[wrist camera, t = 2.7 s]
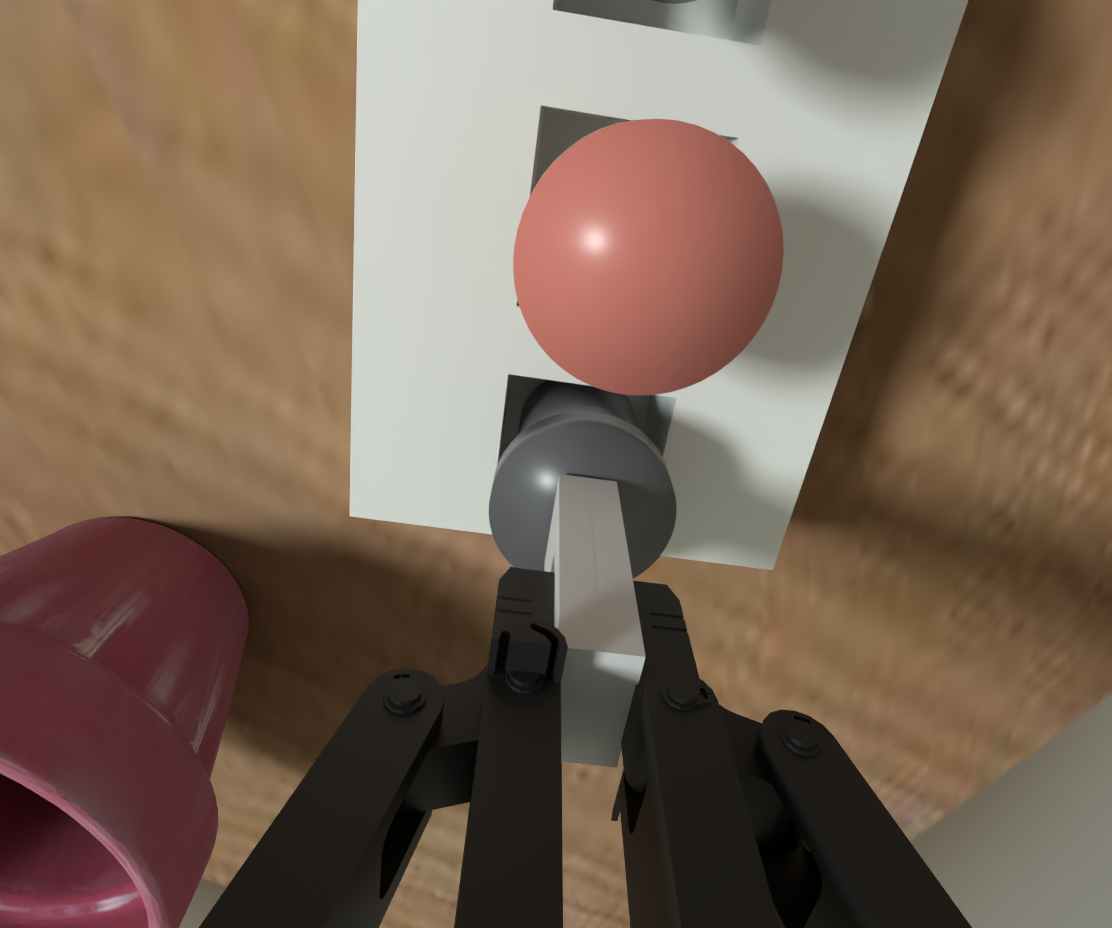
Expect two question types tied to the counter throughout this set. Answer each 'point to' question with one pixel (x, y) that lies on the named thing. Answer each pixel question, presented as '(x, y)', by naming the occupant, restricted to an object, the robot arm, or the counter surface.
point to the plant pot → (111, 722)
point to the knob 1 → (579, 472)
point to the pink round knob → (648, 256)
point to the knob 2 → (674, 1)
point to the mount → (513, 172)
